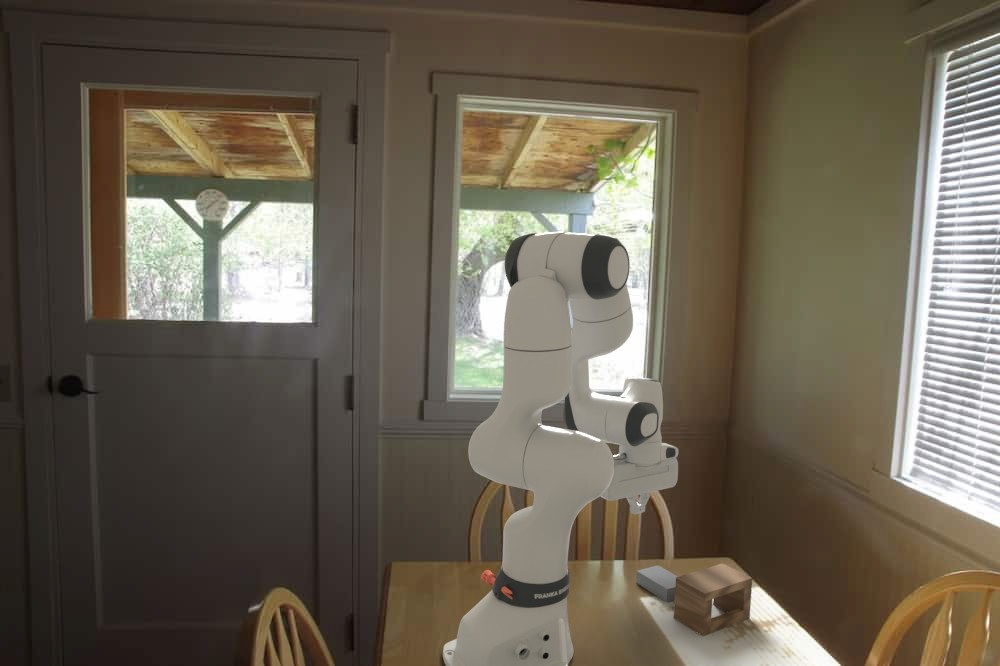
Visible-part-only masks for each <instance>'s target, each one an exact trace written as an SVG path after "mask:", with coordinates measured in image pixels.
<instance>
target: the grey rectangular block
mask: <svg viewBox="0 0 1000 666" xmlns="http://www.w3.org/2000/svg"><path fill="white" fill-rule="evenodd" d="M676 577H679V575H678V576H677V575H676V574H674V573H672V572H671V571H670V570H667V569H665V568H664V567H663V566H660V565H659V564H658V565H657V564H656V565H654V566H650V567H646V568H643V569H638V570H636V578H635V581H636V582H635V583H636V584H637V585H639V586H641V587H642V588H644V589H645V590H647V591H649V592H650V593H651V594H654V595H655V596H656V597H658V598H660V599H661V600H663V601H664V602H666V603H668V602H671V601H675V586H676Z"/></svg>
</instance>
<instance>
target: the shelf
mask: <svg viewBox="0 0 1000 666" xmlns="http://www.w3.org/2000/svg"><path fill="white" fill-rule="evenodd" d="M752 586H753V577H751V576H750V575H747V574H745V573H744V572H741V571H739V570H737V569H735V568H733V567H730V566H729V565H726V564H725V563H719V564H716V565H713V566H710V567H706V568H703V569H700V570H696V571H693V572H690V573H686V574H684V575H680V576H679V575H678V577H676V586H675V600H674V603H673V604H674V608H673V618H674V620H676V621H678V622H679V623H681V624H683V626H686V627H687V628H689V629H690V630H692V631H693V632H695V633H696V634H698V635H700V636H702V637H704V636H706V635H710V634H712V633H715V632H718V631H721V630H723V629H725V628H727V627H729V626H734V625H735V624H738V623H741V622H744V621H746V620H748V619H751V604H752V602H751V601H752ZM713 605H714V606H716V607H717V608H719V609H721V610H723V611H725V613H722V614H720V615H717V616H714V617H712V613H713V611H712V609H713Z"/></svg>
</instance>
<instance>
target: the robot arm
mask: <svg viewBox="0 0 1000 666" xmlns="http://www.w3.org/2000/svg"><path fill="white" fill-rule="evenodd" d="M503 265H504V273H505V277H506V279H507V282H508V284H509V287H510V289H509V291H508V294H507V299H506V305H505V312H504V322H503V323H504V324H503V378H502V389H501V395H500V399H499V401H498V404H497V406H496V407H495V410H494V411H493V412H492V414H491V415H490V416H489V417H488V418H487V419H486V420H484V421H482V423H480V424H479V425H478V426H477V427H476V429H475V430H474V431H473V432H472V435H471V437H470V439H469V443H468V446H467V447H468V450H467V453H468V460H469V463H470V465H471V468H472V469H473V471H474V472H475V473H477V474H478V475H480V476H482V477H484V478H486V479H488V480H491V481H492V482H495V483H496V484H501V485H506V486H509V487H515V488H519V489H523V490H527V491H530V492H533V494H534V495H533V496H534V497H533V503H532V505H531V506H527V507H524V508H522V509H520V510H518V511H515V512H513V513H512V514H511V515H510V516H509V517H508V519H507V520H506V522H505V524H504V527H503V533H502V534H503V535H502V537H503V538H502V539H503V540H502V563H501V565H500V567H499V570H498V572H497V573H496V574H497V575H496V574H494V573H493V572H492V571H491V570H489V569H486V570H484V571H483V572H482V573H481V577H480V578H481V581H483V582H484V583H485V584H486V585H487V586H492V589H491V590H490V591H489V592H488V593H487V594H486V595H485V596H484V597H482V599H481V600H480V601H479V602H478V603H477V604H476V605H474V606H473V607H472V608H471V609H470V610H469V611H468V612H467V613H466V614H465V615H463V616H462V618H461V620H460V622H459V625H458V629H457V635H456V638H455V639H453V640H450V641H448V642H446V643H445V644H444V645H443V647H442V649H443V650H442V659H443V663H444V664H445V666H569V664H570V661H571V660H572V658H573V657H574V653H575V652H574V645H573V643H572V638H571V632H570V626H569V616H568V599H567V597H568V595H569V593H570V570H569V567H568V558H569V546H570V537H571V533H572V532H571V531H572V527H573V525H574V522H575V519H576V518H577V516H578V514H579V513H580V512H581V511H582V510H583V508H585V506H587V505H588V504H589V503H591V502H593V501H595V500H596V499H598V498H600V497H601V498H602V499H604V500H607V501H609V502H612V501H617V500H622V499H625V498H626V500H627V502H628V504H629V512H630V513H631V514H632V515H637V514H642V513H644V512H646V505H647V503H648V501H649V499H650V498H651V493H652V492H658V491H661V490H666V489H671V488H674V487H675V486H676V484H677V482H678V476H679V462H678V459H677V458H678V455H679V448H678V447H676V446H675V445H671V444H668V443H666V442H664V441H662V439H663V438H662V433H661V425H662V422H663V418H664V416H663V415H664V400H663V399H664V397H663V390H662V384H661V382H660V381H658V380H657V379H654V378H650V377H647V378H646V377H642V376H641V377H639V376H632V375H631V376H628V377H626V378H625V380H624V384H623V388H622V389H623V390H622V394H621V395H619V396H615V395H614V396H613V395H608V394H600V393H598V392H595V391H594V390H592V388H590V374H589V373H590V372H589V360H592V359H594V358H597V357H602V356H606V355H609V354H611V353H612V352H615V351H616V350H617V349H619V348H621V347H622V346H623V345H624V344H625V343H626V342H627V340H628V339H629V338H630V337H631V334H632V332H633V327H634V317H633V316H634V315H633V310H632V308H633V307H632V303H631V302H632V301H631V299H630V294H629V293H630V292H629V290H628V286H627V281H628V279H629V275H630V268H631V267H630V265H631V264H630V256H629V253H628V250H627V248H626V247H625V245H624V244H623V243H622V242H621V241H620V240H619V238H617V237H614V236H611V235H607V234H603V233H597V234H587V233H581V232H580V233H578V232H577V233H576V232H569V231H553V232H552V231H551V232H544V233H543V232H542V233H536V232H533V233H532V232H531V233H528V234H523V235H520V236H518V237H516V238H514V240H512V241H511V243H510V245H509V247H508V248H507V250H506V253H505V257H504V264H503ZM568 302H569V304H568ZM569 307H570V310H569ZM570 312H571V313H570ZM570 314H571V315H570ZM570 317H572V322H571V318H570ZM571 323H572V324H571ZM571 325H572V326H571ZM563 400H564V403H563V412H562V419H563V423H564V426H565V428H563V427H562V428H561V427H556V426H549V425H545V424H543V423H542V421H543V420H542V416H543V414H542V413H543V410H546V409H548V408H551V407H553V406H555V405H557V404H558V403H560V402H562V401H563ZM607 443H608V444H611V445H612V444H614V445H619V448H618V454H614V455H613V453H612V451H611V448H610V446H609V445H608V444H607ZM638 496H639V497H638ZM636 500H637V501H636Z"/></svg>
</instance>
